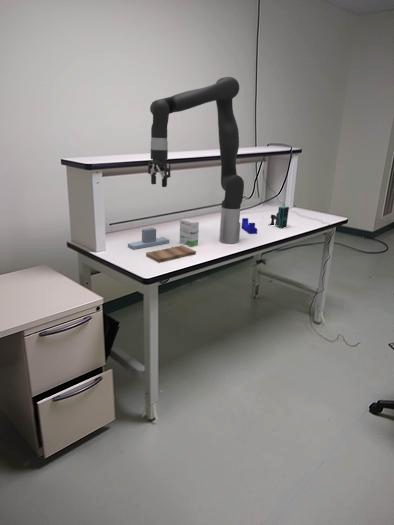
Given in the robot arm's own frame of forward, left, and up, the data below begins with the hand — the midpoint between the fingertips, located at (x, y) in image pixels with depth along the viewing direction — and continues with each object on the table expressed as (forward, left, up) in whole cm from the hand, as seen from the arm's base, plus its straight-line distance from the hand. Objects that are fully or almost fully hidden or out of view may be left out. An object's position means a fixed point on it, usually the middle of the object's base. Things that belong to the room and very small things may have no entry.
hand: (158, 185), depth 182 cm
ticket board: (+4, +16, -28) cm, 33 cm away
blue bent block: (-57, +6, -28) cm, 64 cm away
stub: (+4, -2, -28) cm, 28 cm away
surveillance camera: (-79, +7, -28) cm, 84 cm away
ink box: (-13, +7, -28) cm, 32 cm away
